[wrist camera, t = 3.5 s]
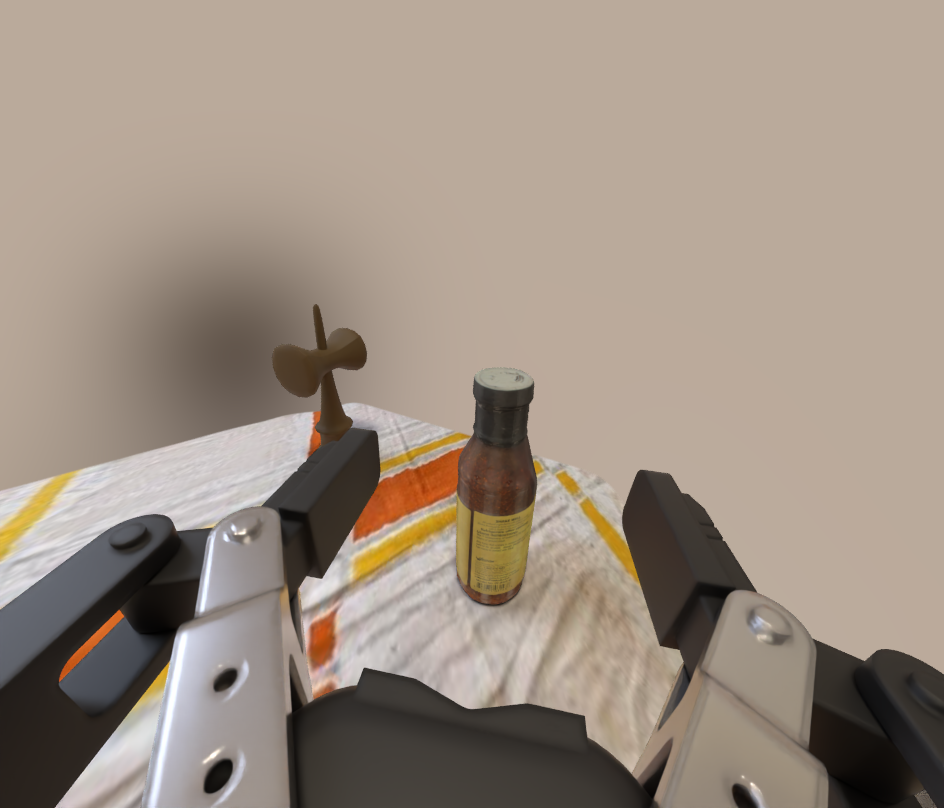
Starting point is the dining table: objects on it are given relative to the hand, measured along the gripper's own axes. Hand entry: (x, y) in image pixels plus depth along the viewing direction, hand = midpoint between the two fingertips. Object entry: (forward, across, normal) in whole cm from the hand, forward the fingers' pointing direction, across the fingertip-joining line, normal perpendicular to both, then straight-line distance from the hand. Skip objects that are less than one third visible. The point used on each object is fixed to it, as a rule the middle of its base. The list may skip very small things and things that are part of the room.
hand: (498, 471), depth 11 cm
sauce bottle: (+12, 0, +22) cm, 25 cm away
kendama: (+26, +22, +22) cm, 41 cm away
